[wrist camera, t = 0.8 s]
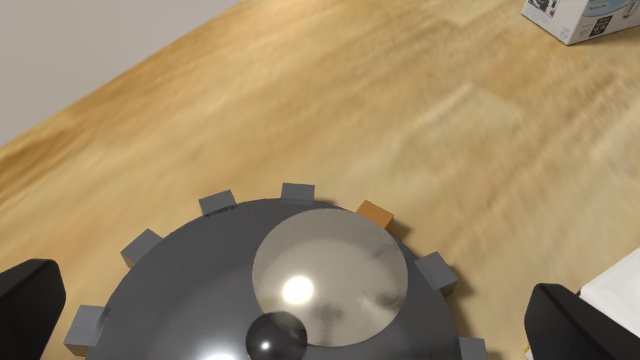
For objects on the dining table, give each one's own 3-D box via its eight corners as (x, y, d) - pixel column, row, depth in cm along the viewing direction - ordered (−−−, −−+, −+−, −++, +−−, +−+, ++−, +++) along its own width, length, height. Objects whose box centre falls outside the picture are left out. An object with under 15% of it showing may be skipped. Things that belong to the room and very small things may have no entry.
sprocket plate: (574, 474, 21) (593, 466, 19) (87, 772, 15) (67, 789, 14) (363, 163, 33) (366, 146, 32) (51, 260, 27) (39, 244, 26)
